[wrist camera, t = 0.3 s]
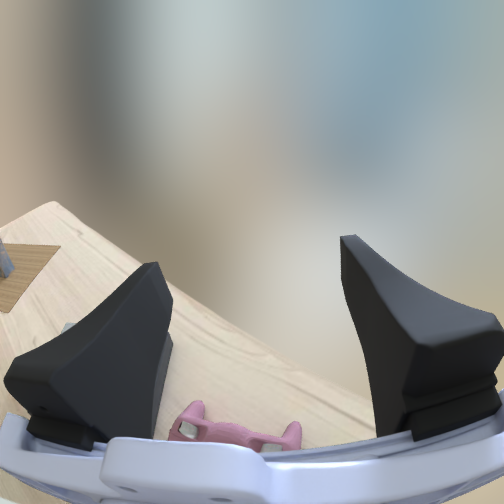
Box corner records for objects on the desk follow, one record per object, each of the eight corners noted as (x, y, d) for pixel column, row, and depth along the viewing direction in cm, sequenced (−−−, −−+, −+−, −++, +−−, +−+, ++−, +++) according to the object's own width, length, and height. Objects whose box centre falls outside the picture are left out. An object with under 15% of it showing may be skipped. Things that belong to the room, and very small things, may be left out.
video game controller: (184, 444, 24) (150, 452, 18) (195, 398, 26) (164, 394, 20) (294, 470, 22) (291, 490, 16) (306, 421, 24) (306, 427, 18)
